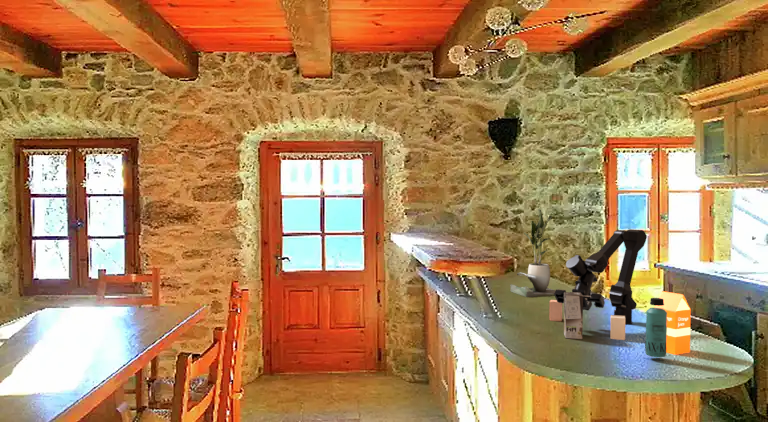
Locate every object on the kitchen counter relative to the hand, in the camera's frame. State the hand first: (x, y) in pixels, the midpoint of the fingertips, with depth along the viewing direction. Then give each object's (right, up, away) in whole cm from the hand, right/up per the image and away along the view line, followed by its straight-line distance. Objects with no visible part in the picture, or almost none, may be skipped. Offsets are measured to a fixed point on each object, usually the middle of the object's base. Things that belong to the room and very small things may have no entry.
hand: (572, 315), depth 245 cm
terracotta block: (0, -6, +26) cm, 26 cm away
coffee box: (-1, -7, -4) cm, 8 cm away
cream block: (+15, -7, -7) cm, 18 cm away
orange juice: (+26, -8, -26) cm, 38 cm away
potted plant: (+9, -4, +95) cm, 95 cm away
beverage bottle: (+16, -8, -37) cm, 42 cm away
